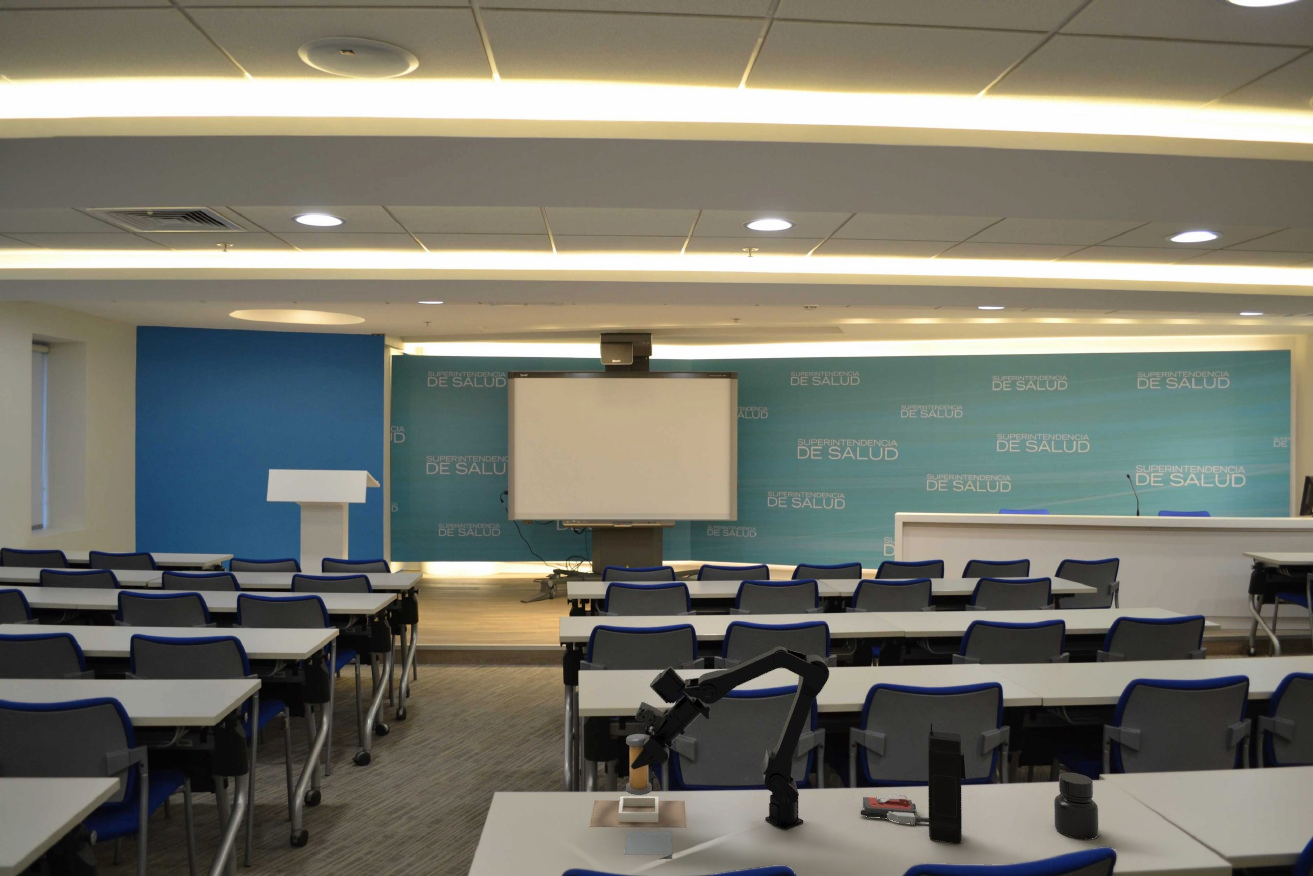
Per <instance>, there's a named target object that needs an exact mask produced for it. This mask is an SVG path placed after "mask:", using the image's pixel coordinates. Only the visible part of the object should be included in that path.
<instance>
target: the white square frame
mask: <svg viewBox="0 0 1313 876" xmlns="http://www.w3.org/2000/svg"><path fill="white" fill-rule="evenodd" d="M619 801H620V803H619V812H618V822H658V801H659V796H648V795H647V796H645V795H633V796H630V795H629V796H628V795H627V796H626V795H625V796H624V795H623V796H621V795H620V797H619ZM623 806H655V812H623Z"/></svg>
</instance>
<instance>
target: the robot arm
mask: <svg viewBox="0 0 1313 876" xmlns="http://www.w3.org/2000/svg"><path fill="white" fill-rule="evenodd" d="M779 668H783V669H785V670H788V671H789V672H792V673H793V674H795V675H798V681H797V689H796V690H797V691H796V693H795V696H794V699H793V701H792V703H791V707H790V709H789V712H788V714H787V715H788V716H787V717H786V719H785V724H784V726H783V727H782V730H781V733H780V737H779V739H778V741H777V744H776V746H775V747H774V748H773V749H772V750H770V749H769V748H766V749H765V755H764V758H763V760H762V761H761V762H760V766H761V767H760V768H761V772H762V777H763V782H764V785H765V788H766V789H767V790H768V791H769V792H771V794H770V795H769V803H768V815H767V816H766V817H764V818H765V820H764V821H766V822H768V823H770V824H772V825H774V826H776V827H778V828H780V829H782V830H788V829H791V828H793V827H796V826H798V825H800V824H804V819H802V818H800V817H799V795H800V794H799V791H798V787H797V784H796V783H797V782H796V780H795V778H794V777H793V776H792V768H793V759H794V754H795V751H796V748H797V746H798V743H799V741H800V737H801V735H802V733H803V729H804V727H805V725H806V721H807V719H808V716H809V713H810V711H811V708H812V705H813V703H814V700H815V699H816V698H817V696H818V695H819V694H820V693H821V691H822V690H823V689H824V687H825V685H826V684H827V682H828V680H829V677H830V670H829V668H828V666H827V664H826V662H825V660H824V659H823V658H822V656H820V655H818V654H809V655H807V654H805V653H803V652H799V651H796V650H793V649H792V650H791V649H789V648H786V647H784V646H782V645H781V646H780V645H778V646H775V647H774V648H773V649H771V650H768V651H767V652H765V653H761V654H760V655H757V656H755V657H753V658H750V659H748V660H746V661H744V662H741V663H739V664H738V665H735V666H732V667H730V668H726V669H718V670H713V671H708V672H705V673H703V674H701V675H700V676H699V677H693V678H685V679H684V678H682V677H681V675H679V674H678V673H677V672H676V670H675V669H674V667H673V666H671V665H669V666H668V667H667V668H665V669H664V670H663V671H662V672H659V673H658V674H657V675H656V676H655V677H654V679H653V680H652V681H651V682H650V684H649V688H650V689H652V690H653V692H655V694H656V695H657V696H658V697H659V698H660V699H661V700H662V701H663V702H664V703H666V704H668V703H669V705H671V704H672V705H673V704H674V703H675V704H674V705H673V706H672V707H671V708H665V710H663V711H662V710H660V709H658V708H656V707H655V706H653V705H650V704H649V703H647V702H644V701H641V702H640V705H639V706H638V709H637V711H636V713H635V717H634V719H635V720H636V721H638V722H642V723H643V724H645V725H646V726H645V731H644V732H645V733H644V734H645V735H649V736H648V737H647V738H646V739H644V740H643V749H642V751H641V752H640V753H639V755H638V756H637V758H636V759H635V760H634V762H633V763H632V765H631V767H632V768H633V769H637V768H640V767H643V766H646V765H648V766H649V765H651V764H655V763H659V765H661V766H664V764H666V763H667V762H668V761H669V757H670V749H669V748H671V747H672V746H673V745H674V741H675V740H676V739H678V737H679V736H680V735H681V736H683V735H684V734H685V733H686V729H687V728H688V727H690V725H691V724H692V723H693V722H694V721H696V719H698V717H699V716H700V715H702V716H703V717H704V718H705V719H706V720H709V719H710V710H711V705H712V704H716V703H717V702H718V701H720V700H721V699H723V698H724V697H725V696H726V697H727V695H728V694H729V693H731V691H733V690H734V689H735V688H737V687H739V686H741V685H743V684H746V683H747V682H750V681H752V680H754V679H756V678H760V677H761V676H763V675H765V674H768V673H770V672H773V671H774V670H776V669H779ZM647 725H648V726H647ZM649 726H650V727H649Z"/></svg>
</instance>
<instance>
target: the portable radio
mask: <svg viewBox="0 0 1313 876" xmlns="http://www.w3.org/2000/svg"><path fill="white" fill-rule="evenodd" d="M929 725H930V730H928V733H927V745H928V746H927V750H928V751H927V753H928V755H927V759H928V760H927V761H928V762H927V765H928V767H927V769H928V771H927V772H928V775H927V776H928V777H927V778H928V781H927V783H928V784H927V785H928V788H927V789H928V792H927V793H928V795H927V796H928V818H929V823H928V837H929V839H930V840H931V841H936V842H941V843H942V842H943V843H950V844H956V845H959V844H961V843H962V835H963V834H962V832H963V831H962V828H963V827H962V822H963V821H962V817H963V815H962V814H963V813H962V811H963V810H962V808H963V807H962V780H964V782H966V781H967V779H966V764H965V753H964V752H963V753H962V737H961V734H959V733H954V732H952V733H951V732H943V731H936V730H935V731H934V730H933V726H934V724H933V723H929Z"/></svg>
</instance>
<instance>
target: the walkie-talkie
mask: <svg viewBox="0 0 1313 876" xmlns="http://www.w3.org/2000/svg"><path fill="white" fill-rule="evenodd" d="M863 808H864V809H863ZM917 811H918V810H917V806H916V803H913V801H912V800H911V799H908V797H907V796H906V795H897V794H896V795H895V794H889V795H887V796H885V797H880V795H876V797H872V796H871V797H868V796H863V797H862V810H860V813H859V814H860V816H867V817H880V818H887V819H886V820H888V819H890V820H893V821H896V822H899V823H910V824H914V825H913V826H916V823H918V824H919V823H928V824H929V817H926V816H925V817H922V816H918V815H916V814H917V813H918V812H917ZM867 817H866V818H867ZM910 824H909V825H910Z"/></svg>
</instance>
